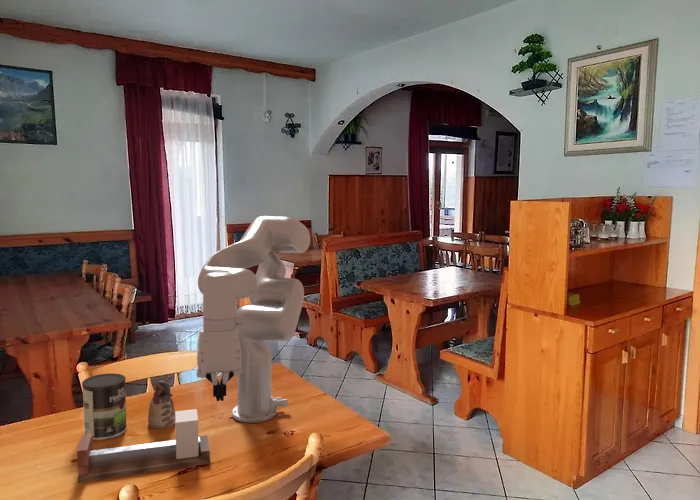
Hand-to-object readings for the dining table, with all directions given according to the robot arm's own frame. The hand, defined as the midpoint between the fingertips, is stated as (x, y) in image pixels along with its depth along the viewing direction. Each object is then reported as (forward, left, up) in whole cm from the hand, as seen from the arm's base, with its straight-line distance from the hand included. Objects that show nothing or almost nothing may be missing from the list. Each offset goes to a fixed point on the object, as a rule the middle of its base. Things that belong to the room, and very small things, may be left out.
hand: (219, 398), depth 128 cm
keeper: (+8, -1, -12) cm, 15 cm away
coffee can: (+28, -21, -14) cm, 37 cm away
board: (+17, -1, -14) cm, 22 cm away
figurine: (+14, -22, -14) cm, 29 cm away
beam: (+17, -1, -13) cm, 21 cm away
